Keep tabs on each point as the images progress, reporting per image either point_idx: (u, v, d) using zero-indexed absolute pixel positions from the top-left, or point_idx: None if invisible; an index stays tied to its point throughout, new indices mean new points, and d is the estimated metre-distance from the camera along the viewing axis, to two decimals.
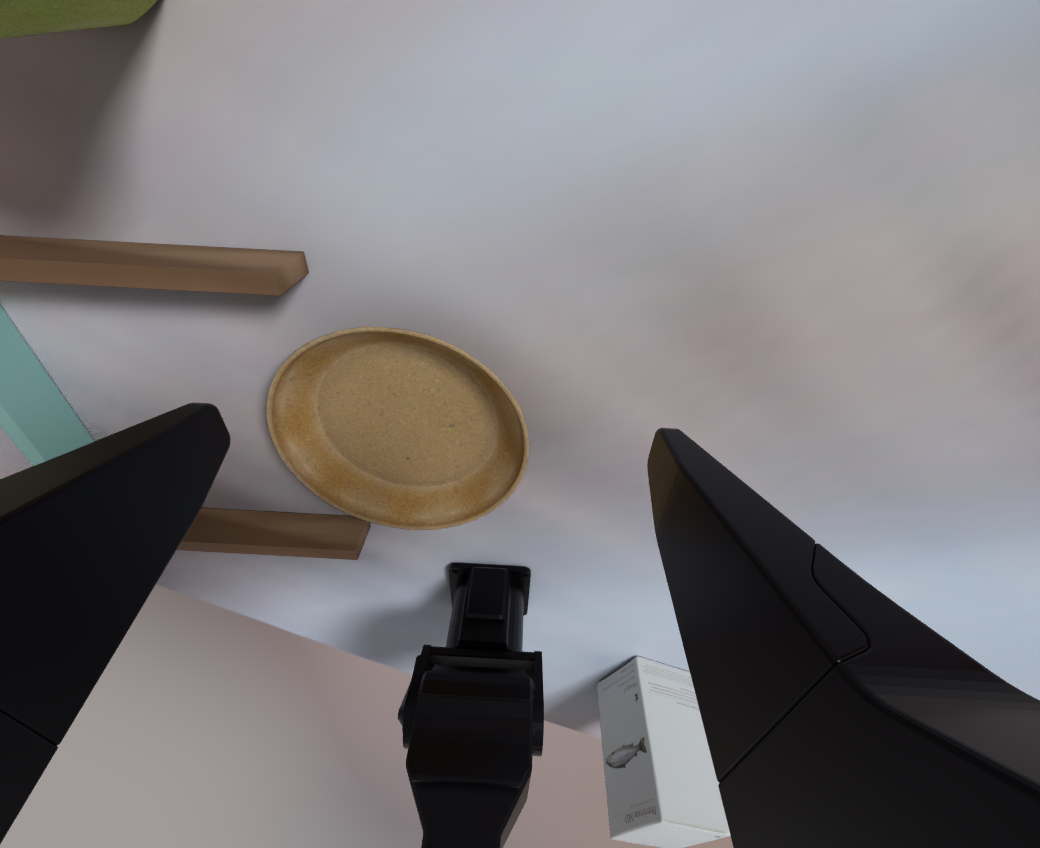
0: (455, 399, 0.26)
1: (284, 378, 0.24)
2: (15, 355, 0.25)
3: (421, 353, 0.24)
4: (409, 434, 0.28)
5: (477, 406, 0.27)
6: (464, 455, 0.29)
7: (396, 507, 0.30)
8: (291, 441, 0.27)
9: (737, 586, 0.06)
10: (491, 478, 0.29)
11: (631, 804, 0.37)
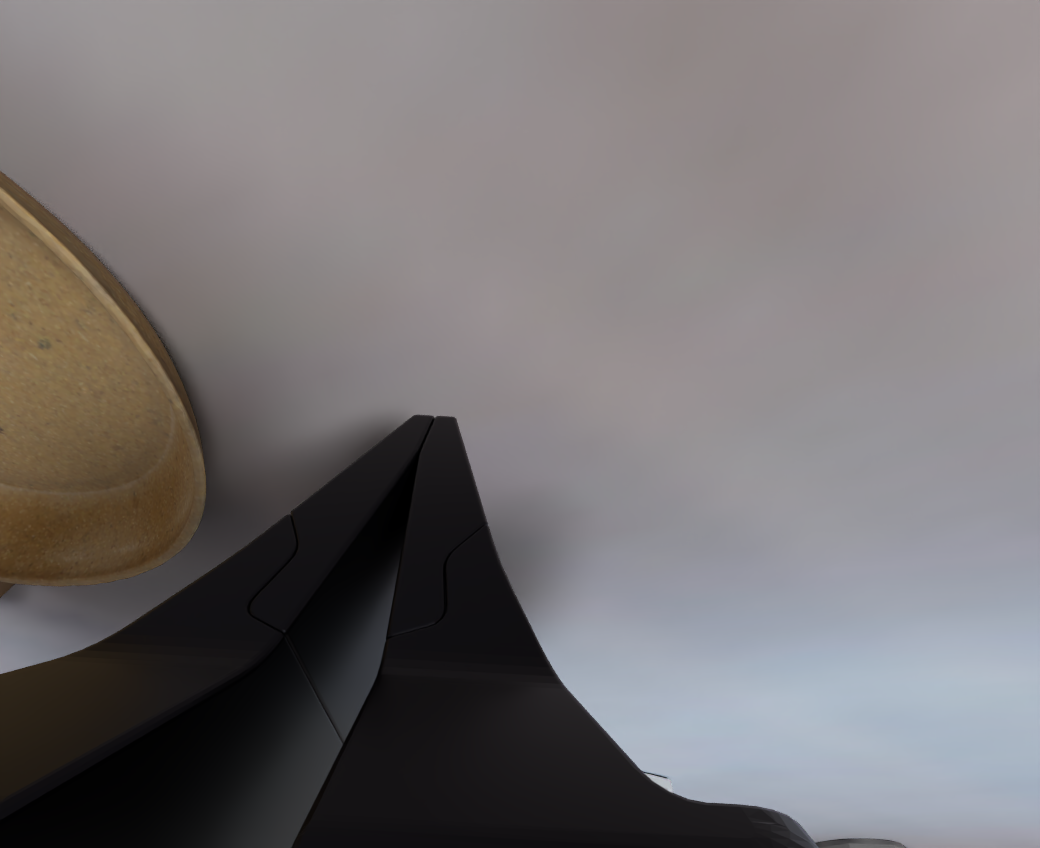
0: (6, 268, 0.10)
1: None
2: None
3: None
4: None
5: (73, 288, 0.10)
6: (118, 422, 0.13)
7: (10, 538, 0.14)
8: None
9: None
10: (183, 473, 0.13)
11: None
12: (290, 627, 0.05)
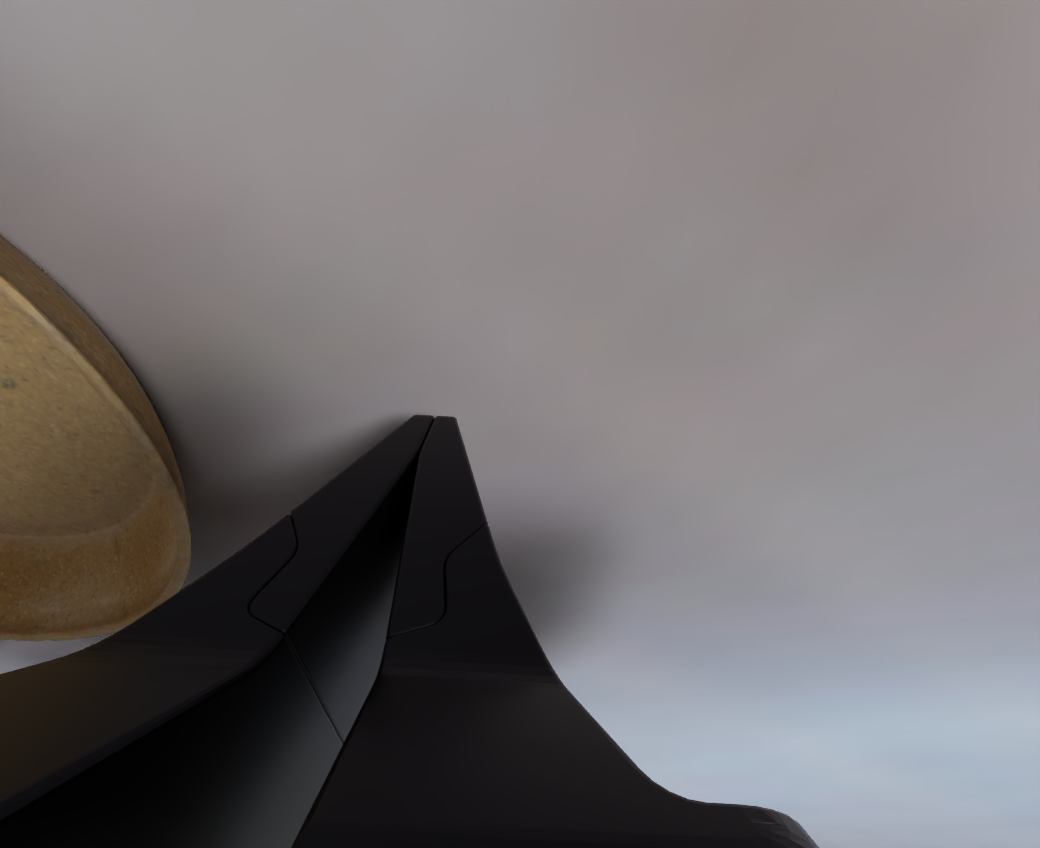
0: None
1: None
2: None
3: None
4: None
5: None
6: (96, 465, 0.11)
7: None
8: None
9: None
10: (168, 522, 0.12)
11: None
12: (290, 627, 0.05)
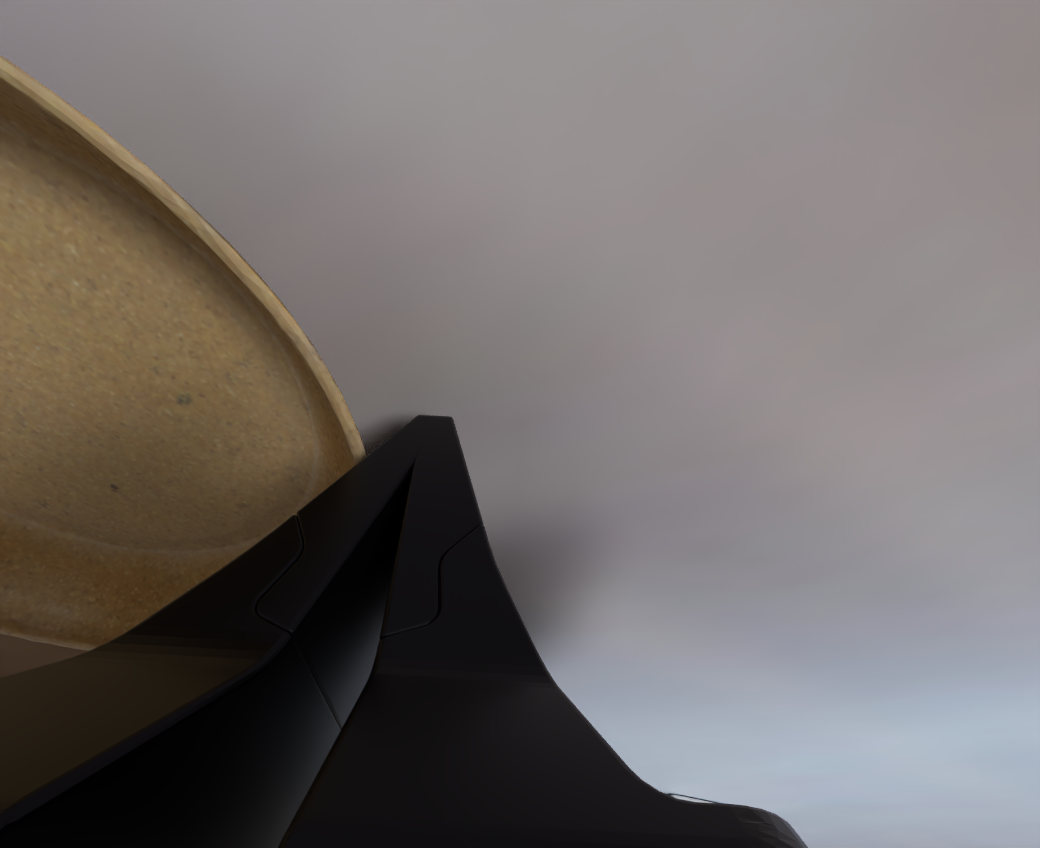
0: (157, 318, 0.09)
1: None
2: None
3: None
4: (84, 427, 0.10)
5: (231, 339, 0.09)
6: (250, 480, 0.11)
7: (116, 603, 0.13)
8: None
9: None
10: None
11: None
12: (297, 627, 0.05)
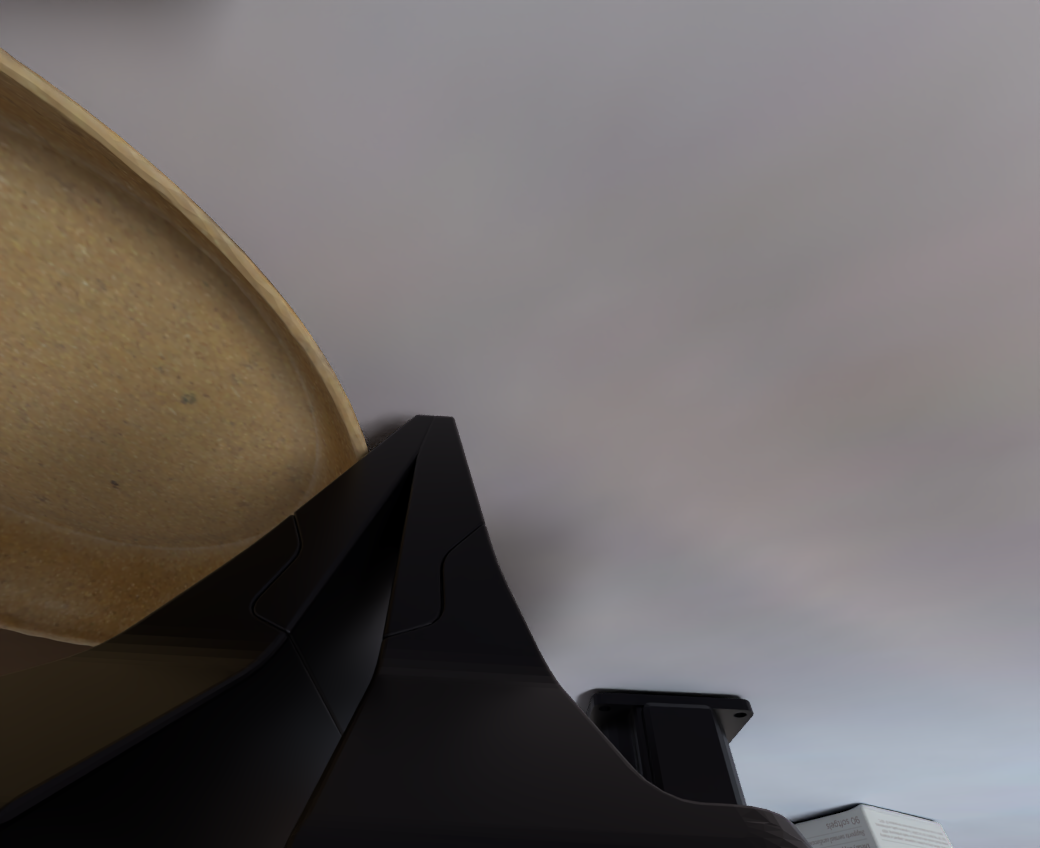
0: (165, 319, 0.09)
1: None
2: None
3: None
4: (87, 423, 0.11)
5: (237, 342, 0.09)
6: (251, 479, 0.11)
7: (113, 598, 0.13)
8: None
9: None
10: None
11: None
12: (294, 627, 0.05)
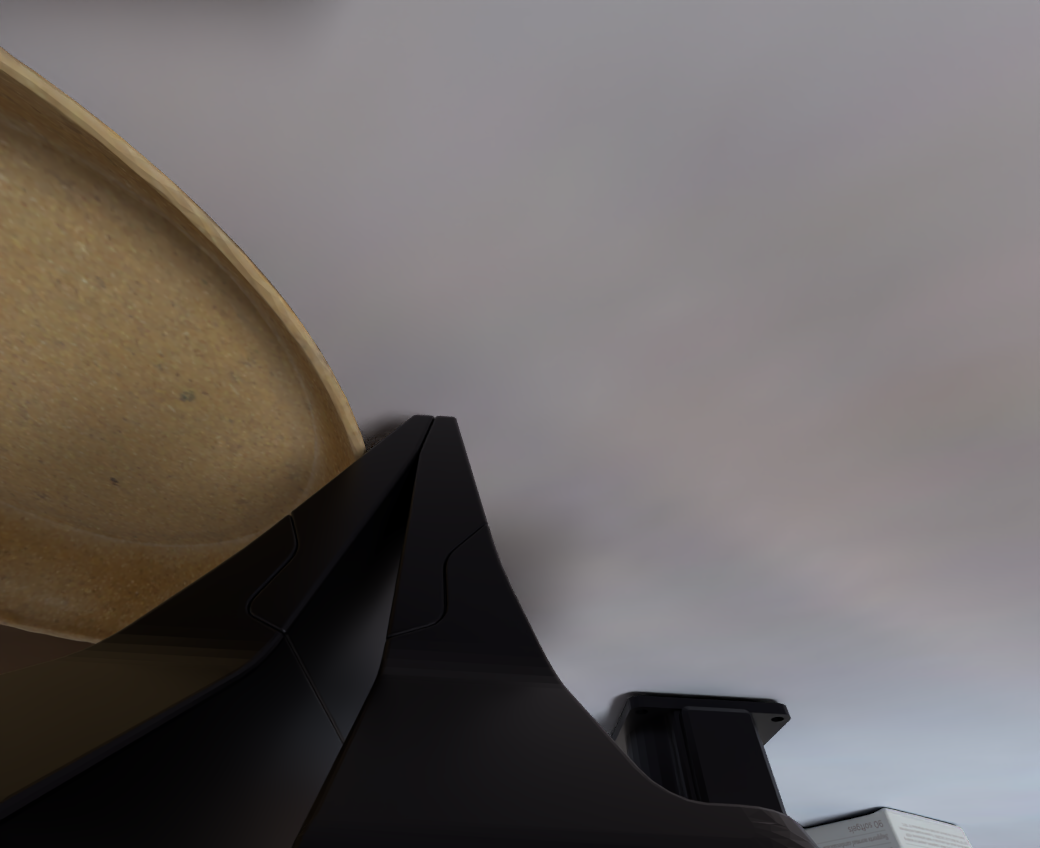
0: (164, 317, 0.09)
1: None
2: None
3: None
4: (87, 420, 0.11)
5: (236, 339, 0.09)
6: (249, 477, 0.12)
7: (112, 594, 0.13)
8: None
9: None
10: None
11: None
12: (290, 627, 0.05)
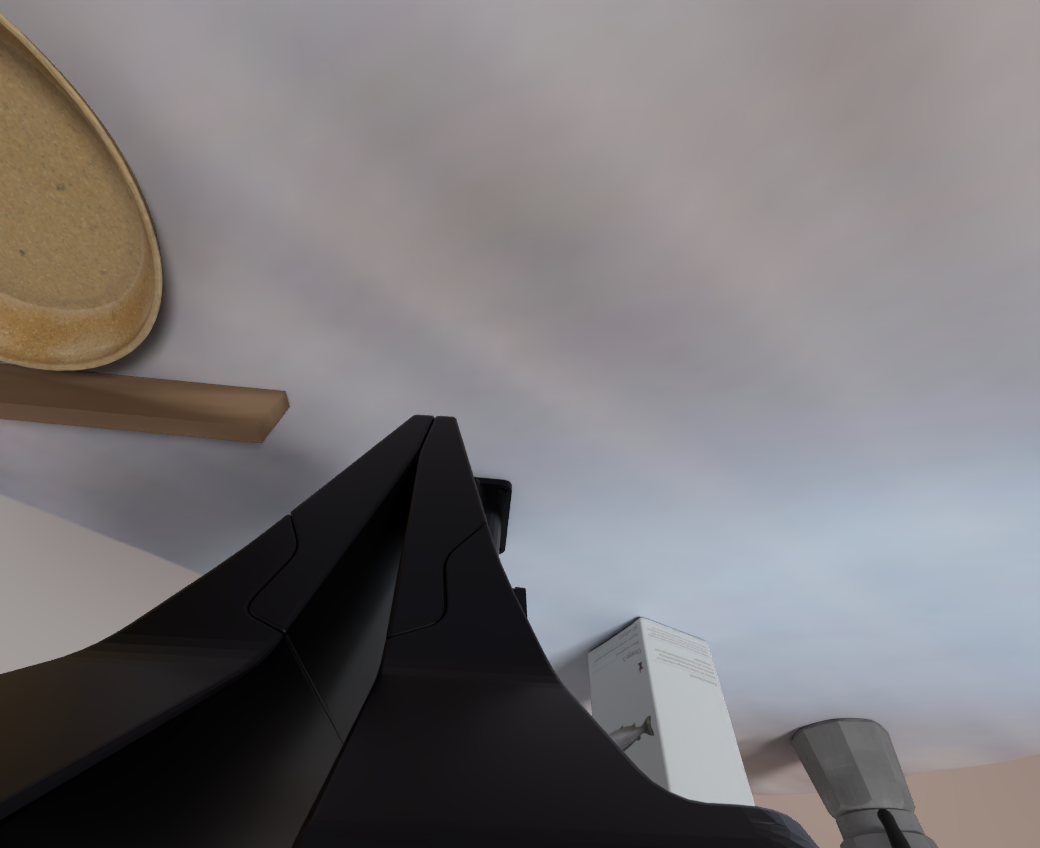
0: (42, 130, 0.17)
1: None
2: None
3: None
4: (3, 203, 0.18)
5: (83, 147, 0.17)
6: (105, 251, 0.19)
7: (22, 337, 0.21)
8: None
9: None
10: (148, 289, 0.19)
11: None
12: (290, 627, 0.05)
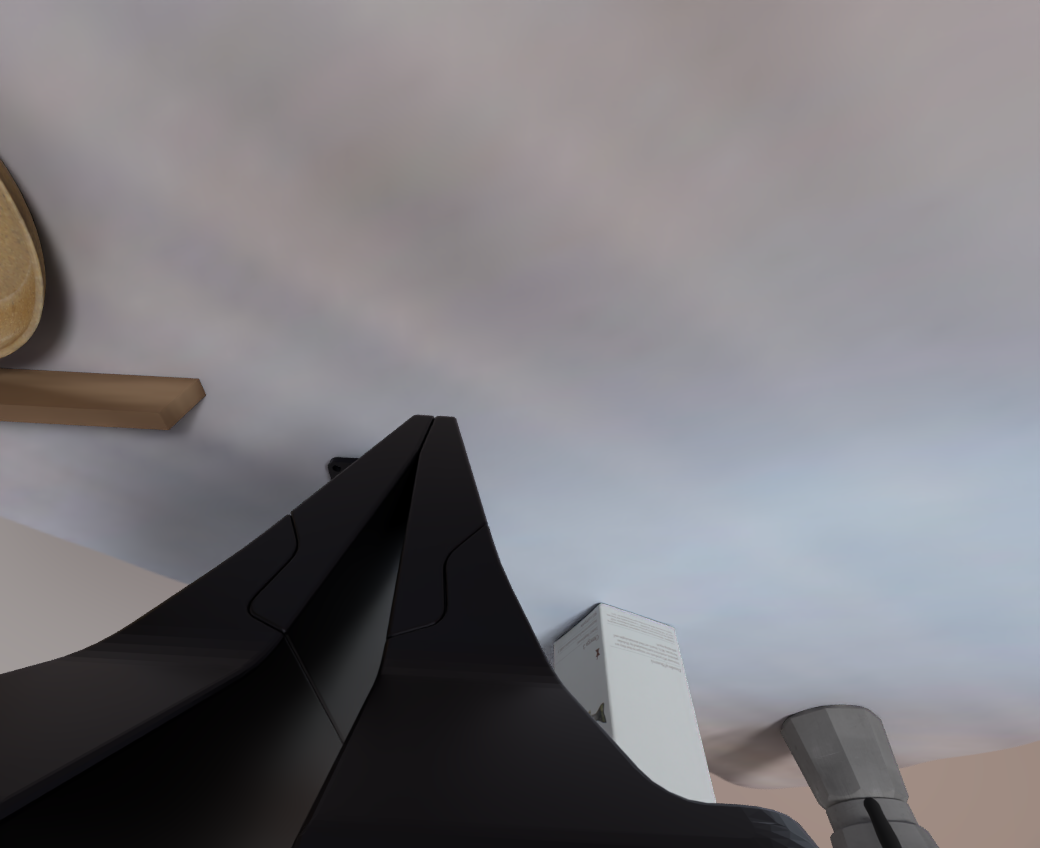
0: None
1: None
2: None
3: None
4: None
5: None
6: None
7: None
8: None
9: None
10: None
11: None
12: (290, 627, 0.05)
